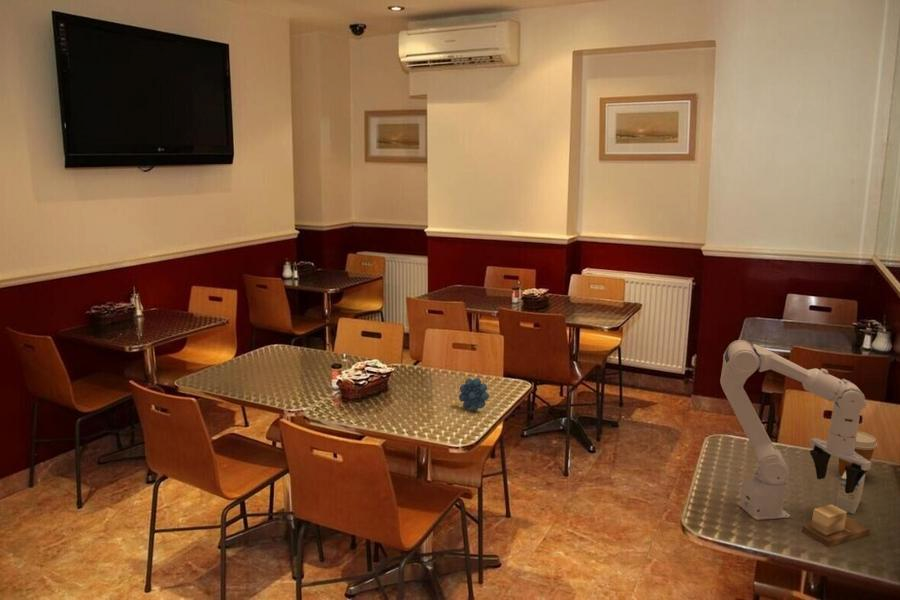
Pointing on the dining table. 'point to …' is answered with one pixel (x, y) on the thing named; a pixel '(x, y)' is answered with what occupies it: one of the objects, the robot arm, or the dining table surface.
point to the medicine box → (849, 495)
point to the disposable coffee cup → (860, 449)
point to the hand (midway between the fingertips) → (834, 485)
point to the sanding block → (828, 520)
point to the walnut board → (850, 533)
